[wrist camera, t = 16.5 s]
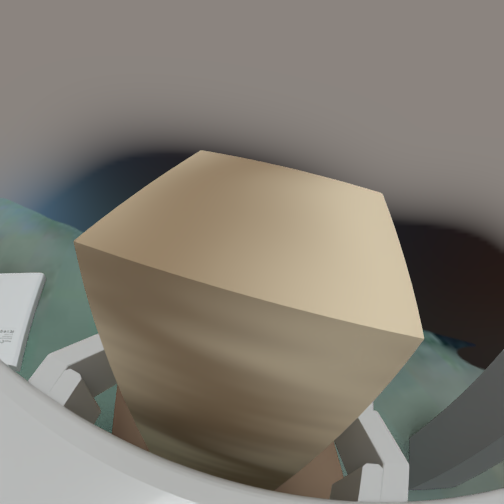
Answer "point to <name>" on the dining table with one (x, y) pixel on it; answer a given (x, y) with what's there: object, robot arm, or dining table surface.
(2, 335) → the external hard drive
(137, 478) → the robot arm
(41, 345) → the dining table surface
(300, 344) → the maple block
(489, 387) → the grey block
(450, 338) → the dining table surface
